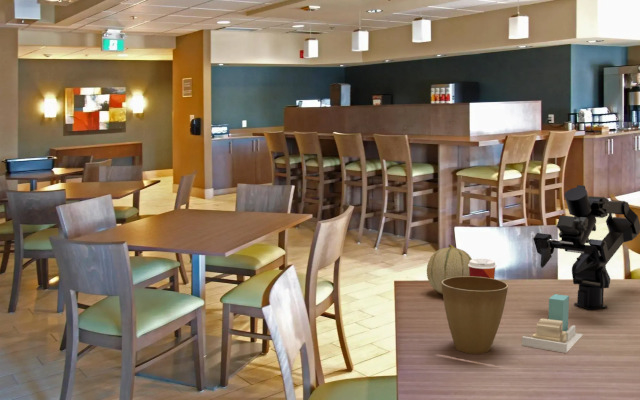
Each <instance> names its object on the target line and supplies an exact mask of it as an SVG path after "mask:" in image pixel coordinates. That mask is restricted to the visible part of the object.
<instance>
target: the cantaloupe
mask: <svg viewBox="0 0 640 400" xmlns="http://www.w3.org/2000/svg"><path fill="white" fill-rule="evenodd" d="M472 259H473V258H472V256H471V255H469V253H467V251H465V250H463V249H460V248H457V247H455V246H454V245H453V244H448V247H443V248H439V249H438V250H436V251H435V252H434V253H433V254H432V255H431V256H430V257H429V260H428V262H427V265H426V266H427V267H426V277H427V280H428V283H429V284H430V286H431V287H432V288H433V290H435V291H436V292H438V293H439V294H441V295H443V291H442V281H443V280H444V279H447V278H452V277H463V276H470V275H469V266H468V264H469V262H470V260H472Z"/></svg>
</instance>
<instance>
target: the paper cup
mask: <svg viewBox="0 0 640 400" xmlns="http://www.w3.org/2000/svg"><path fill="white" fill-rule="evenodd" d="M468 266H469V275H470V276H474V277H485V278H492V279H495V277H496V276H495V274H496V268H497V265H496V262H495V260H493V259H487V258H472V260H470V262H469V264H468Z"/></svg>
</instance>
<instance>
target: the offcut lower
mask: <svg viewBox="0 0 640 400" xmlns="http://www.w3.org/2000/svg"><path fill="white" fill-rule="evenodd" d="M531 337H532V338H537V339H543V340H549V341H555V342H561V343H566V331H562V333H561V335H560V337H559V338H551V337H543V336H536V331H535V332H534V333H533V334H532V335H531Z"/></svg>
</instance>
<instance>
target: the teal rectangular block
mask: <svg viewBox="0 0 640 400" xmlns="http://www.w3.org/2000/svg"><path fill="white" fill-rule="evenodd" d="M569 301H570V296H569V295H566V294H556V293H555V294H553V295H552V296H550V297H549V298H548V319H550V320H559V321H563V330H562V331H567V330H568V329H569V308H570V305H569V304H570V302H569Z"/></svg>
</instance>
